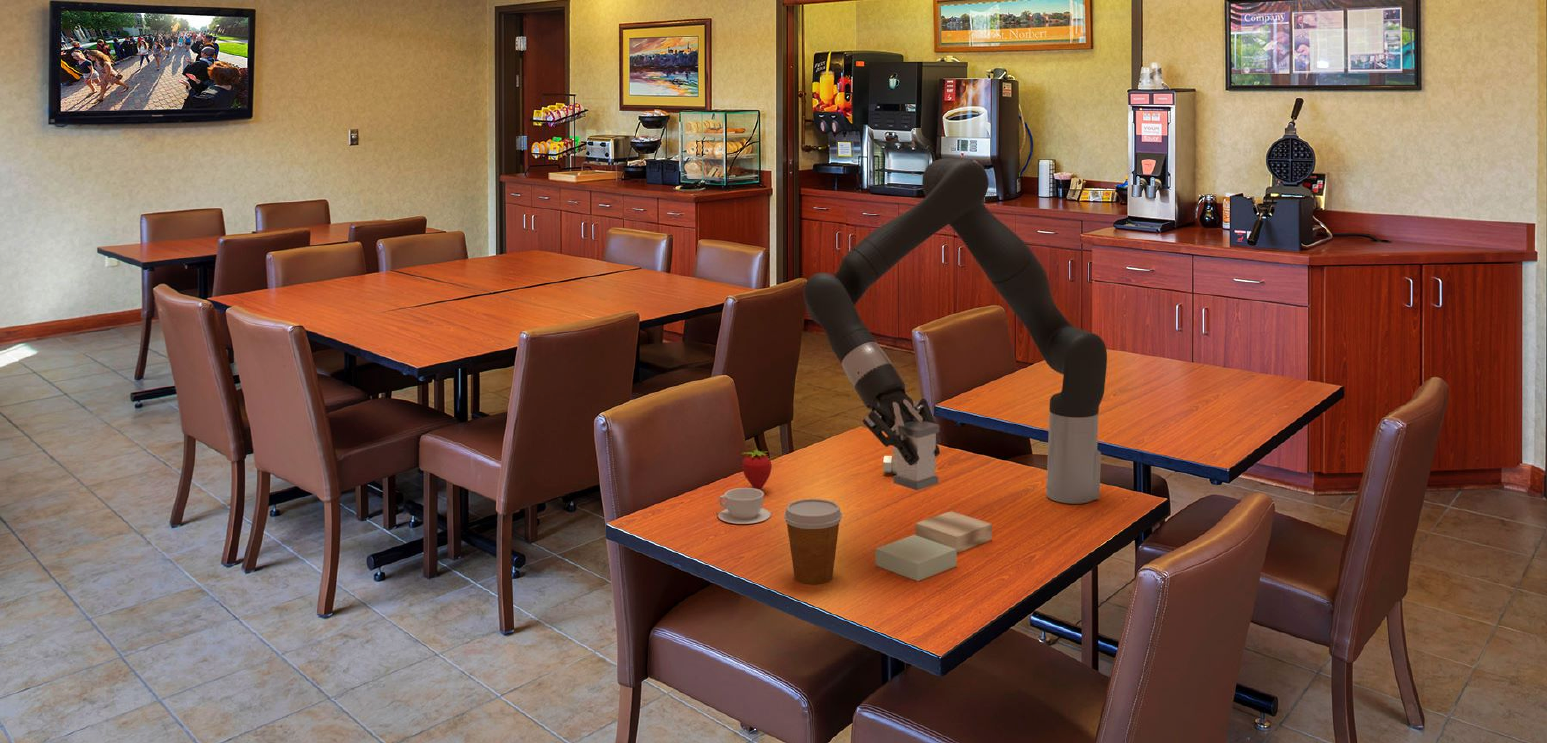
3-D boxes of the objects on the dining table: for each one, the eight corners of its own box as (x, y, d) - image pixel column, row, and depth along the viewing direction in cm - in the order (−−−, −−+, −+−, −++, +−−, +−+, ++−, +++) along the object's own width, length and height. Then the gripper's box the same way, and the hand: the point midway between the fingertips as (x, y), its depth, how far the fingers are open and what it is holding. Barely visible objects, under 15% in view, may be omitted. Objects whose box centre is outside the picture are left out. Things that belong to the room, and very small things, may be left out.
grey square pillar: (914, 476, 201) (915, 419, 198) (938, 483, 197) (939, 425, 195) (893, 483, 197) (894, 424, 195) (917, 490, 193) (917, 430, 191)
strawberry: (746, 498, 236) (744, 449, 234) (739, 487, 243) (738, 439, 241) (775, 496, 237) (774, 447, 235) (768, 484, 244) (767, 437, 242)
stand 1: (914, 551, 207) (914, 534, 206) (956, 566, 200) (956, 549, 199) (875, 565, 200) (875, 548, 200) (917, 581, 193) (918, 564, 193)
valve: (914, 480, 246) (914, 423, 243) (882, 478, 247) (882, 422, 244) (916, 470, 252) (917, 415, 249) (885, 469, 253) (886, 414, 251)
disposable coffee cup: (782, 567, 200) (780, 499, 198) (838, 564, 201) (838, 496, 198) (787, 589, 191) (786, 518, 188) (846, 587, 192) (846, 515, 189)
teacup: (777, 511, 229) (777, 487, 228) (761, 528, 219) (760, 504, 218) (728, 506, 232) (727, 483, 231) (710, 523, 222) (709, 499, 221)
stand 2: (950, 526, 218) (950, 511, 218) (991, 540, 211) (992, 524, 211) (915, 539, 212) (915, 523, 212) (956, 553, 205) (956, 537, 204)
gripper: (853, 368, 194) (908, 456, 187) (913, 356, 203) (967, 438, 197) (831, 395, 199) (883, 480, 192) (890, 381, 208) (942, 462, 202)
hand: (925, 459), depth 195 cm, fingers closed on grey square pillar, 4 cm apart
